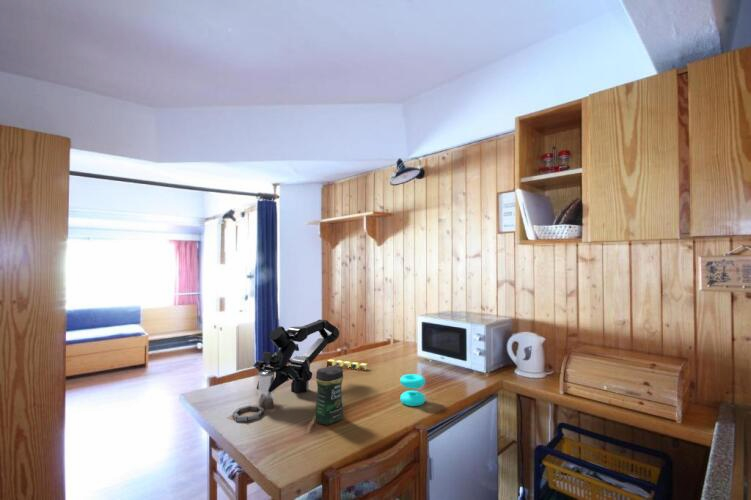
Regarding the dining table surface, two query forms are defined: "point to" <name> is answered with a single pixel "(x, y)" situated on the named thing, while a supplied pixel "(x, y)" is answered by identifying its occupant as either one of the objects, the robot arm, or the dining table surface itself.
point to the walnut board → (266, 412)
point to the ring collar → (247, 418)
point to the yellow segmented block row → (347, 364)
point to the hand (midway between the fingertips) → (263, 390)
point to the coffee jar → (329, 395)
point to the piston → (266, 389)
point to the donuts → (412, 396)
